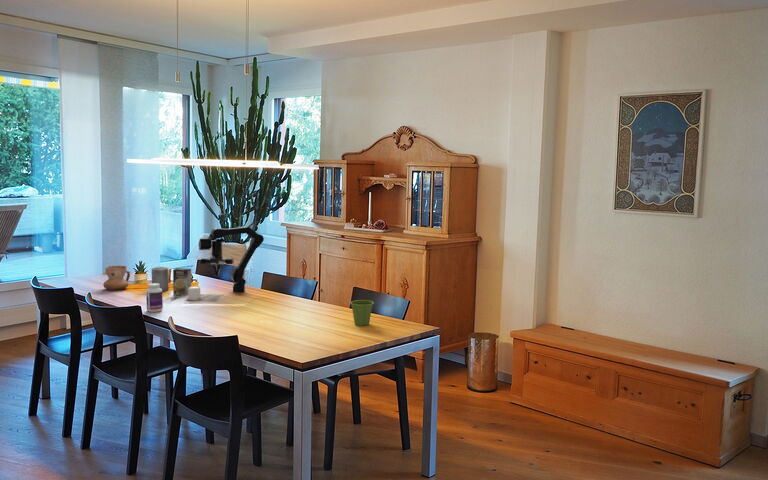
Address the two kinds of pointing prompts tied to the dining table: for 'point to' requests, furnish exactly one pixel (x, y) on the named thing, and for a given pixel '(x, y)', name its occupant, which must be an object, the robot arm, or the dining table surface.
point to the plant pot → (361, 311)
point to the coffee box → (181, 281)
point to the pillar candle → (160, 277)
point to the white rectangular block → (194, 293)
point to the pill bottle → (154, 298)
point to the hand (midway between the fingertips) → (217, 275)
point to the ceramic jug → (116, 277)
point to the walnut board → (208, 297)
